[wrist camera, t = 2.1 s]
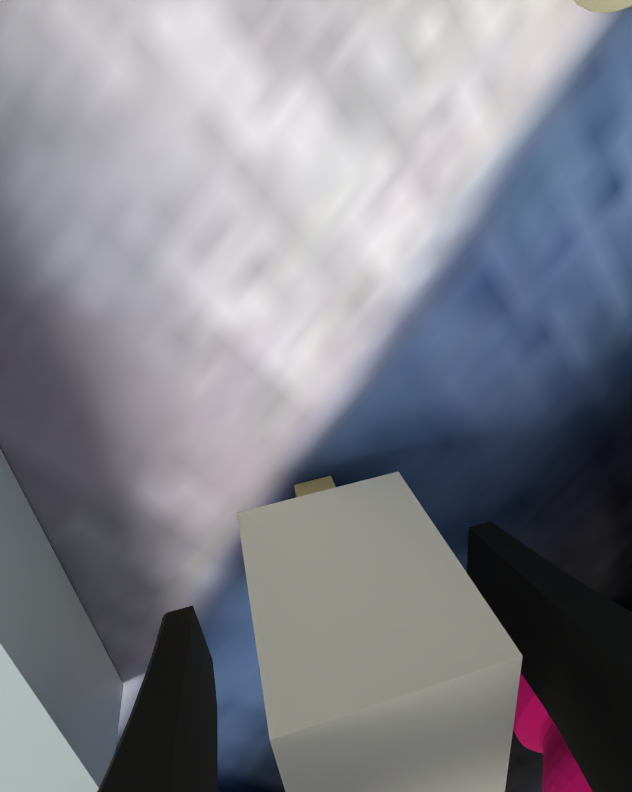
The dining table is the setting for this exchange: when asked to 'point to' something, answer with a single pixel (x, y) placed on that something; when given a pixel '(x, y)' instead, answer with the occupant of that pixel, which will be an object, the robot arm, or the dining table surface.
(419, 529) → the cream rectangular block
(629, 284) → the dining table surface
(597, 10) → the cable
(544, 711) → the pepper mill
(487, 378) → the dining table surface
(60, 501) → the dining table surface
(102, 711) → the socket plate
